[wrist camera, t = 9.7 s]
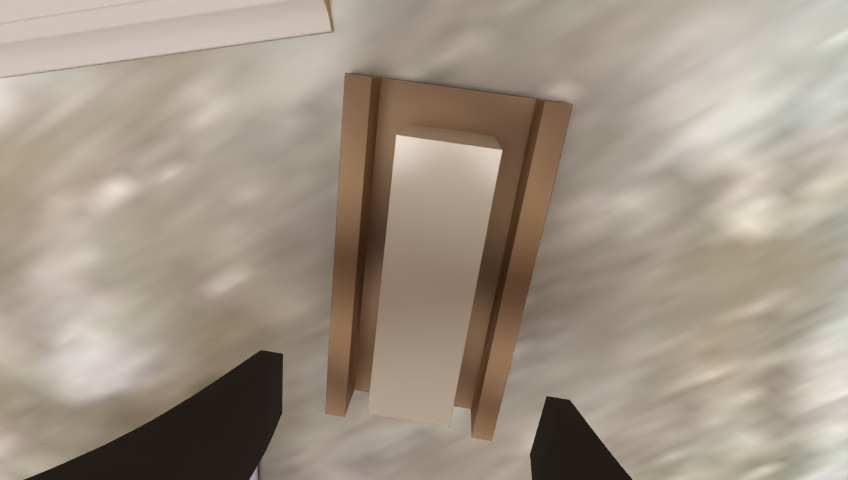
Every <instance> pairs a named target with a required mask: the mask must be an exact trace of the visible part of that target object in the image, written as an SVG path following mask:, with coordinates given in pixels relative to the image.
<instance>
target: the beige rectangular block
mask: <svg viewBox="0 0 848 480" xmlns="http://www.w3.org/2000/svg"><path fill="white" fill-rule="evenodd" d="M501 154H502V149H501V147H500V145H499V143H498V142H497V140H496V138H495V137H494V136H491V135H484V134H477V133H470V132H463V131H456V130H449V129H442V128H435V127H427V126H420V125H413V124H409V125H408V126H407V127H405V128H404V129H403V130H402V131H401V132H399V133H398V134H397V135H396V142H395V152H394V162H393V171H392V181H391V191H390V200H389V210H388V220H387V229H386V239H385V249H384V258H383V268H382V278H381V288H380V297H379V307H378V317H377V326H376V336H375V346H374V355H373V365H372V375H371V385H370V394H369V404H368V414H373V415H379V416H385V417H391V418H397V419H403V420H409V421H415V422H421V423H427V424H433V425H439V426H446V427H449V426H450V420H451V415H452V410H453V405H454V400H455V394H456V389H457V384H458V379H459V373H460V368H461V363H462V358H463V353H464V347H465V342H466V337H467V332H468V327H469V321H470V316H471V311H472V306H473V300H474V295H475V290H476V285H477V280H478V274H479V269H480V264H481V259H482V254H483V248H484V243H485V238H486V233H487V227H488V222H489V217H490V212H491V207H492V201H493V196H494V191H495V186H496V181H497V175H498V170H499V165H500V160H501Z"/></svg>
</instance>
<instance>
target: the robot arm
mask: <svg viewBox="0 0 848 480" xmlns="http://www.w3.org/2000/svg"><path fill="white" fill-rule="evenodd" d="M282 375H283V354H281V353H275V352H269V351H262V350H261V351H259V352H258V353H256V354H255V355H253V356H252V357H250V358H249V359H247V360H246V361H244V362H243V363H241V364H240V365H238V366H237V367H236V368H234V369H233V370H231V371H230V372H228V373H227V374H225V375H224V376H222V377H221V378H219V379H218V380H216V381H215V382H213V383H212V384H210V385H209V386H207V387H206V388H204V389H203V390H201V391H200V392H198V393H197V394H195V395H194V396H192V397H190V398H189V399H187V400H185V401H184V402H182V403H180V404H179V405H177V406H175V407H174V408H172V409H170V410H169V411H167V412H165V413H164V414H162V415H160V416H159V417H157V418H155V419H154V420H152V421H150V422H148V423H146V424H145V425H143V426H141V427H139V428H137V429H135V430H133V431H131V432H129V433H127V434H125V435H123V436H122V437H120V438H118V439H116V440H114V441H112V442H110V443H108V444H106V445H103V446H101V447H99V448H97V449H95V450H93V451H90V452H88V453H86V454H84V455H81V456H79V457H77V458H75V459H72V460H70V461H68V462H66V463H63V464H61V465H59V466H57V467H54V468H52V469H50V470H47V471H45V472H42V473H40V474H37V475H35V476H32V477H30V478H27V479H25V480H258V464H259V462H260V460H261V459H262V457H263V455H264V453H265V451H266V449H267V447H268V445H269V443H270V441H271V438H272V436H273V434H274V431H275V429H276V426H277V424H278V422H279V419H280V417H281V414H282ZM530 458H531V471H532V480H632V479H631V477H630V476H629V475H628V474H627V473H626V471H625V470H624V469H623V468H622V467H621V465H620V464H619V463H618V462H617V460H616V459H615V458H614V457H613V456H612V454H611V453H610V452H609V451H608V449H607V448H606V447H605V445H604V444H603V443H602V442H601V440H600V439H599V438H598V436H597V435H596V434H595V432H594V431H593V430H592V429H591V427H590V426H589V425H588V423H587V422H586V421H585V419H584V418H583V417H582V415H581V414H580V413H579V411H578V410H577V409H576V407H575V406H574V405H573V404H572V402H571V401H570V400H567V399H560V398H554V397H548V396H547V397H546V401H545V404H544V408H543V411H542V415H541V418H540V422H539V425H538V429H537V432H536V436H535V439H534V443H533V446H532V450H531V453H530Z"/></svg>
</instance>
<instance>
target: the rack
mask: <svg viewBox="0 0 848 480" xmlns="http://www.w3.org/2000/svg"><path fill="white" fill-rule="evenodd" d="M572 106H573V104H570V103H564V102H556V101H549V100H542V99H534V98H527V97H520V96H513V95H505V94H498V93H491V92H484V91H476V90H469V89H462V88H455V87H447V86H440V85H433V84H426V83H418V82H411V81H404V80H397V79H389V78H382V77H375V76H367V75H360V74H353V73H345V81H344V98H343V116H342V133H341V150H340V167H339V184H338V201H337V219H336V236H335V253H334V270H333V287H332V304H331V322H330V339H329V356H328V373H327V390H326V408H325V413H326V414H332V415H338V416H344V417H345V415H346V412H347V409H348V406H349V403H350V400H351V397H352V395H353V392H354V390H358V391H365V392H370V385H371V375H372V365H373V355H374V346H375V336H376V326H377V317H378V307H379V297H380V288H381V278H382V268H383V258H384V249H385V239H386V229H387V220H388V210H389V200H390V191H391V181H392V171H393V162H394V152H395V142H396V135H397V134H398V133H399V132H401V131H402V130H403V129H404V128H405V127H407V126H408V125H409V124H413V125H420V126H427V127H435V128H442V129H449V130H456V131H463V132H470V133H477V134H484V135H491V136H494V137H495V138H496V140H497V142H498V143H499V145H500V147H501V149H502V154H501V160H500V165H499V170H498V175H497V181H496V186H495V191H494V196H493V201H492V207H491V212H490V217H489V222H488V227H487V233H486V238H485V243H484V248H483V254H482V259H481V264H480V269H479V274H478V280H477V285H476V290H475V295H474V300H473V306H472V311H471V316H470V321H469V327H468V332H467V337H466V342H465V347H464V353H463V358H462V363H461V368H460V373H459V379H458V384H457V389H456V394H455V400H454V405H453V406H457V407H463V408H469V409H471V430H472V438H477V439H483V440H489V441H492V438H493V434H494V430H495V425H496V421H497V417H498V413H499V410H500V406H501V401H502V397H503V393H504V389H505V385H506V381H507V377H508V372H509V368H510V364H511V360H512V356H513V352H514V347H515V343H516V339H517V335H518V331H519V327H520V322H521V318H522V314H523V310H524V306H525V302H526V298H527V293H528V289H529V285H530V281H531V277H532V273H533V268H534V264H535V260H536V256H537V252H538V248H539V244H540V239H541V235H542V231H543V227H544V223H545V219H546V214H547V210H548V206H549V202H550V198H551V194H552V190H553V185H554V181H555V177H556V173H557V169H558V165H559V160H560V156H561V152H562V148H563V144H564V140H565V136H566V131H567V127H568V123H569V119H570V115H571V111H572Z"/></svg>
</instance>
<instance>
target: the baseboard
mask: <svg viewBox="0 0 848 480" xmlns="http://www.w3.org/2000/svg"><path fill="white" fill-rule="evenodd" d="M330 32H333V26H332V20H331V14H330V8H329V2H328V0H0V78H7V77H14V76H21V75H28V74H36V73H43V72H50V71H57V70H64V69H72V68H79V67H86V66H93V65H100V64H108V63H115V62H122V61H129V60H136V59H143V58H151V57H158V56H165V55H172V54H179V53H187V52H194V51H201V50H208V49H215V48H223V47H230V46H237V45H244V44H251V43H258V42H266V41H273V40H280V39H287V38H294V37H302V36H309V35H316V34H323V33H330Z"/></svg>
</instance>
